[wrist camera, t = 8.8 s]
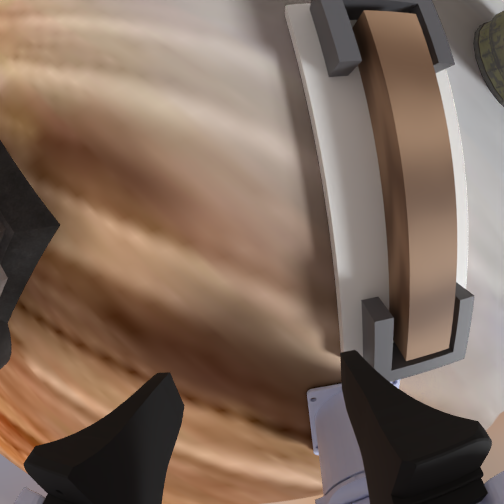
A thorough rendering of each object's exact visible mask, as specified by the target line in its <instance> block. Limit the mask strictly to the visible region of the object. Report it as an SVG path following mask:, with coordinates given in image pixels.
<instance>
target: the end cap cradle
mask: <svg viewBox="0 0 504 504" xmlns="http://www.w3.org/2000/svg"><path fill="white" fill-rule="evenodd" d="M364 10H371V11H390V12H402V13H412V14H416V16H417V18H418V21H419V23H420V26H421V29H422V32H423V35H424V37H425V40H426V43H427V46H428V50H429V53H430V56H431V59H432V63H433V66H434V70H435V73H436V77H437V81H438V85H439V89H440V93H441V98H442V102H443V107H444V112H445V117H446V122H447V127H448V133H449V139H450V146H451V153H452V161H453V170H454V180H455V192H456V208H457V275H456V291H455V303H454V313H453V322H452V329H451V337H450V343H449V348H448V349H445V350H442V351H439V352H436V353H432V354H429V355H426V356H423V357H419V358H416V359H412V360H409V361H406V360H405V359H404V357H403V355H402V354H401V352H400V350H399V349H398V347H397V345H396V344H395V342H394V341H393V329H394V317H393V316H392V315H391V313H390V312H389V271H388V251H387V236H386V223H385V213H384V203H383V194H382V186H381V179H380V171H379V165H378V158H377V152H376V146H375V140H374V135H373V129H372V124H371V119H370V114H369V110H368V105H367V100H366V96H365V92H364V88H363V83H362V79H361V75H360V72H359V68H358V64H359V63H360V62H361V61H362V59H361V55H360V52H359V49H358V45H357V42H356V39H355V35H354V32H353V29H352V28H353V26H354V25H355V23H356V22H357V20H358V18H359V17H360V15H361V14H362V12H363V11H364ZM285 18H286V22H287V25H288V29H289V32H290V36H291V40H292V43H293V47H294V51H295V55H296V59H297V63H298V67H299V71H300V75H301V79H302V83H303V88H304V92H305V96H306V101H307V106H308V110H309V115H310V120H311V125H312V130H313V135H314V140H315V145H316V150H317V156H318V161H319V167H320V173H321V179H322V185H323V191H324V198H325V204H326V211H327V218H328V225H329V233H330V241H331V249H332V257H333V266H334V275H335V285H336V295H337V307H338V319H339V333H340V349H341V352H346V351H351V350H356V351H358V353H359V354H360V355H361V356H362V357H363V358H364V359H365V360H366V361H367V362H368V363H369V364H370V365H371V366H372V367H373V368H374V369H375V370H376V371H377V372H379V373H380V374H381V375H382V376H383V377H384V378H385V379H387V380H388V381H389V382H392V381H395V380H399V379H403V378H406V377H410V376H413V375H417V374H420V373H423V372H427V371H430V370H433V369H436V368H439V367H442V366H445V365H448V364H451V363H454V362H456V361H459V360H462V359H464V358H465V353H466V348H467V343H468V337H469V332H470V325H471V319H472V312H473V304H474V295H473V294H471V293H470V292H469V291H467V290H466V283H467V267H468V202H467V186H466V175H465V165H464V156H463V149H462V142H461V135H460V129H459V123H458V118H457V113H456V108H455V103H454V99H453V94H452V90H451V86H450V82H449V78H448V74H447V71H446V68H448V67H450V66H452V65H455V63H454V60H453V56H452V53H451V50H450V47H449V44H448V41H447V38H446V35H445V32H444V30H443V27H442V24H441V22H440V19H439V16H438V14H437V12H436V9H435V7H434V4H433V2H432V0H312V1H311V3H302V4H291V5H285Z"/></svg>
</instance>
